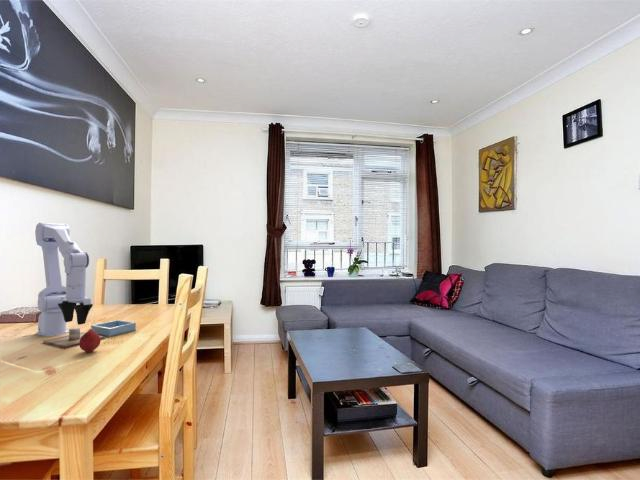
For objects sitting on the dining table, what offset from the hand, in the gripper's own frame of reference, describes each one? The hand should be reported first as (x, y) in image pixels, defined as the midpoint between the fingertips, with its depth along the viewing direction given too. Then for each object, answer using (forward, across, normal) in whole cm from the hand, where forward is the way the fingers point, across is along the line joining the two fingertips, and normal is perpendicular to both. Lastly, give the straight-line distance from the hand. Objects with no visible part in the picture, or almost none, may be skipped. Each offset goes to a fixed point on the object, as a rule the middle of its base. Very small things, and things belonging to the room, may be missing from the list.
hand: (74, 322), depth 122 cm
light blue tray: (+7, 0, +14) cm, 16 cm away
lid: (+7, 0, 0) cm, 7 cm away
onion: (+7, +17, -5) cm, 19 cm away
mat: (+7, 0, 0) cm, 7 cm away
